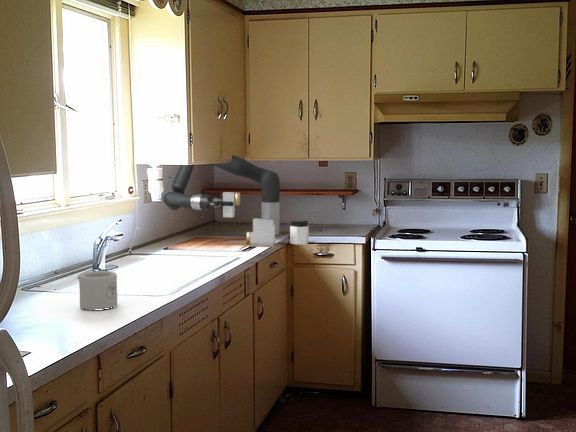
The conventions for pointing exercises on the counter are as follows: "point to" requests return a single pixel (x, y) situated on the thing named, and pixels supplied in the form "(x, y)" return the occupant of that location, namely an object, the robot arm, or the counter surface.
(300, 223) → the jar
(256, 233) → the fixed leaf
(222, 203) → the robot arm
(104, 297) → the mug
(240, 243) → the jig board
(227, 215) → the brushed metal block
